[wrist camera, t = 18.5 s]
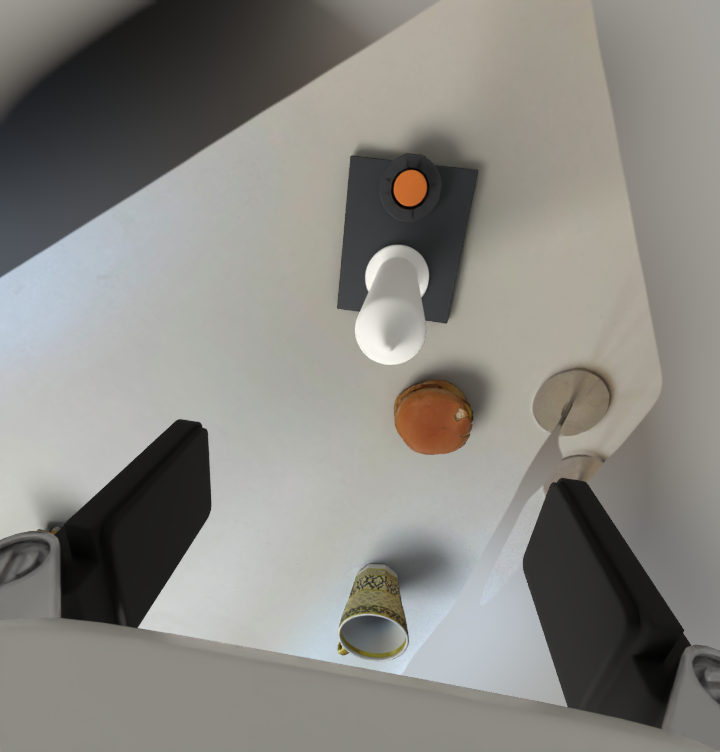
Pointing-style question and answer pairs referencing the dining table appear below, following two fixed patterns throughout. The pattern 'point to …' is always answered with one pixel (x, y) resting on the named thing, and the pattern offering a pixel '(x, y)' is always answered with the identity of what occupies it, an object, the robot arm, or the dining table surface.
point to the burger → (433, 417)
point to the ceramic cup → (374, 617)
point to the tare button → (410, 188)
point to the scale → (405, 226)
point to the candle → (393, 306)
